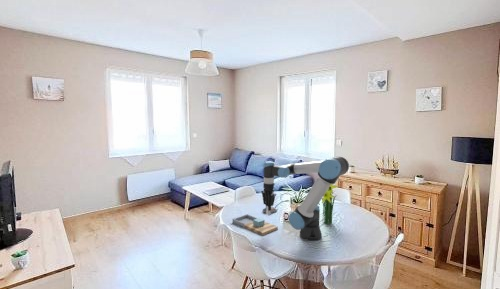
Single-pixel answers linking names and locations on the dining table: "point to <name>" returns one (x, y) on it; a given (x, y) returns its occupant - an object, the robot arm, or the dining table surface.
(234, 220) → the tray
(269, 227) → the slatted wooden board
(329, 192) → the daffodil flowers
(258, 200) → the dining table surface
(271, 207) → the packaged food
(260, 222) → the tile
